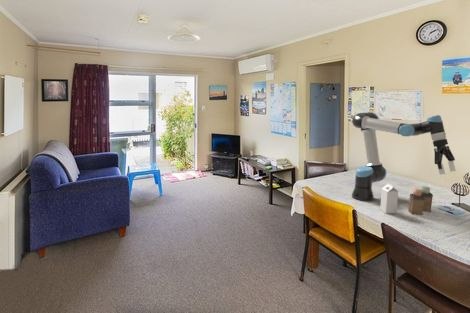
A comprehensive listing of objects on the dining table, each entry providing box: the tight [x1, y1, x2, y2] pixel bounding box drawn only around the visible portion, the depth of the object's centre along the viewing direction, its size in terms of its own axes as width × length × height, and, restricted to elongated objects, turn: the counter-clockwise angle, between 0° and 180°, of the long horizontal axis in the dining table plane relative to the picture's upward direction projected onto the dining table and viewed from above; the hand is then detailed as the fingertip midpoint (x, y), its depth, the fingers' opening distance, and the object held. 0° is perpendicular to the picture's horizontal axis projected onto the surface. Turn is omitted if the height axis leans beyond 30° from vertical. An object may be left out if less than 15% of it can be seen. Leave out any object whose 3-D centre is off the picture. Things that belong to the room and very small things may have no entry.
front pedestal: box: [407, 193, 425, 216], centre depth 189 cm, size 6×6×12 cm
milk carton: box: [379, 182, 399, 214], centre depth 192 cm, size 7×7×19 cm
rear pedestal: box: [422, 192, 434, 213], centre depth 194 cm, size 6×6×12 cm
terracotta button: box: [412, 188, 422, 197], centre depth 188 cm, size 5×5×4 cm
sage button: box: [421, 186, 431, 194], centre depth 192 cm, size 5×5×4 cm
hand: (447, 172), depth 181 cm, fingers open, 13 cm apart
